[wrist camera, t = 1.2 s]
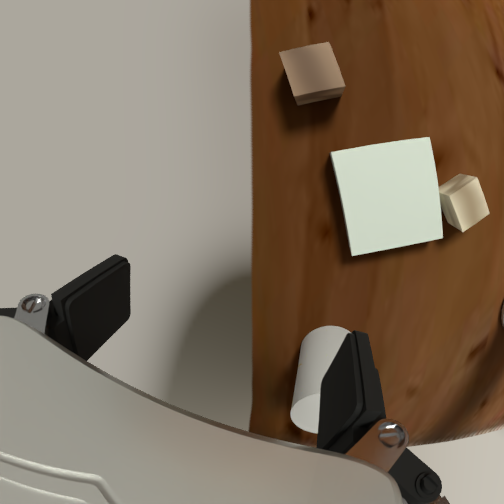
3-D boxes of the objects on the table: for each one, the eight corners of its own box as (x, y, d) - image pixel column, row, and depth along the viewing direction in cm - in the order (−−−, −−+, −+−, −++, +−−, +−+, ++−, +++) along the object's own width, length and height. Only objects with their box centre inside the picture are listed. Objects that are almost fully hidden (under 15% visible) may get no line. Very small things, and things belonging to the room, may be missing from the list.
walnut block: (327, 58, 24) (328, 42, 20) (341, 96, 26) (345, 86, 21) (285, 67, 26) (279, 52, 21) (297, 105, 27) (293, 96, 23)
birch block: (459, 173, 25) (477, 177, 21) (471, 205, 25) (489, 213, 21) (433, 190, 26) (449, 196, 22) (447, 222, 27) (462, 232, 23)
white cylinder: (289, 343, 37) (275, 408, 26) (338, 315, 34) (342, 381, 23) (320, 376, 38) (315, 440, 27) (367, 353, 35) (375, 418, 24)
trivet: (419, 138, 25) (429, 137, 22) (433, 230, 28) (442, 238, 25) (329, 152, 28) (331, 152, 25) (349, 247, 31) (351, 256, 28)
